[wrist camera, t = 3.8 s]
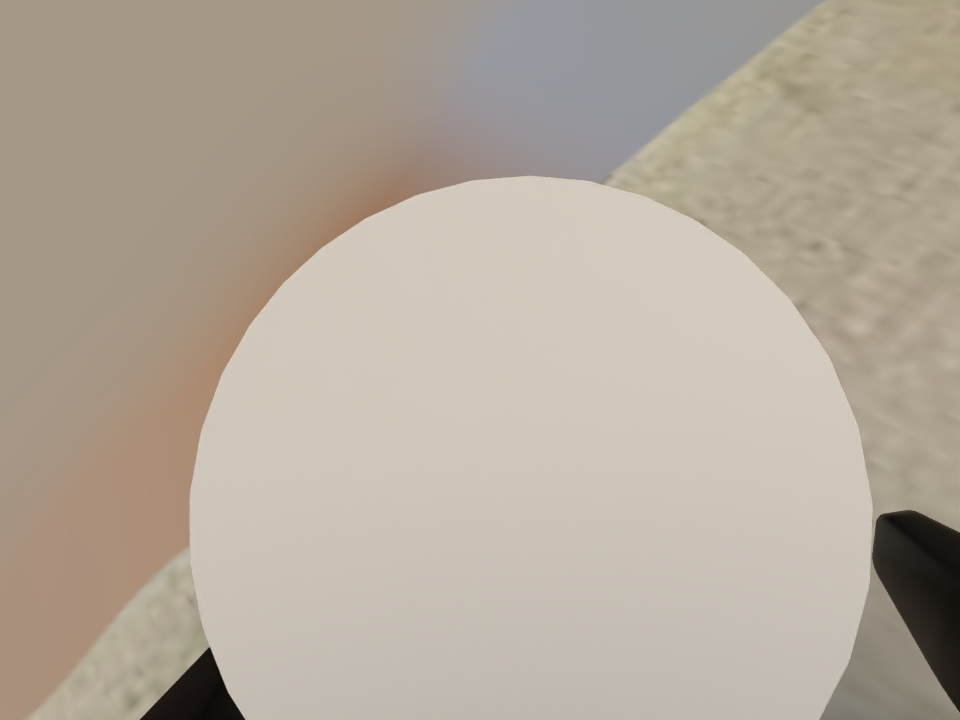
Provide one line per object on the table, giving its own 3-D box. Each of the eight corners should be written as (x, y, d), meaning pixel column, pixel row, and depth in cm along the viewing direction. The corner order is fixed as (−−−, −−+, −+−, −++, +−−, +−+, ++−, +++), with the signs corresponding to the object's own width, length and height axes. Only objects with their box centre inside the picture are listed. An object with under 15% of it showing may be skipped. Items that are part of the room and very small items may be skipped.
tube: (660, 516, 17) (1028, 409, 3) (574, 629, 17) (551, 1121, 3) (551, 430, 19) (465, 88, 4) (468, 532, 18) (76, 506, 4)
